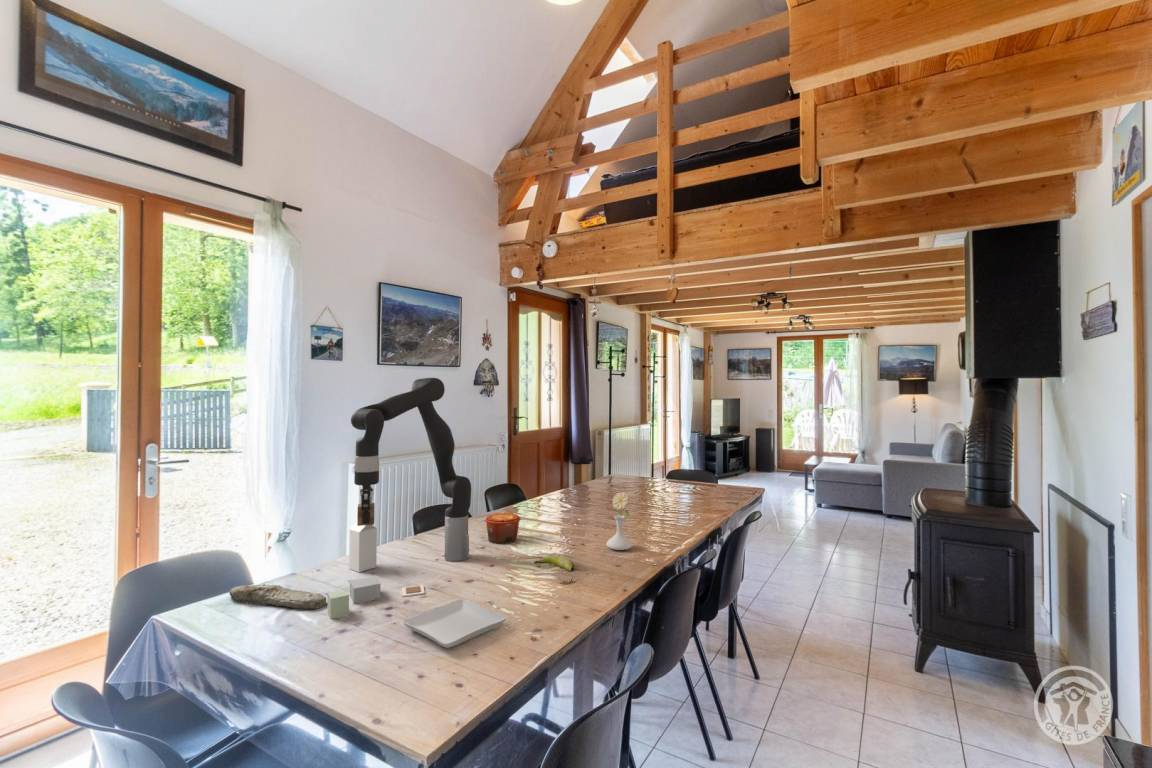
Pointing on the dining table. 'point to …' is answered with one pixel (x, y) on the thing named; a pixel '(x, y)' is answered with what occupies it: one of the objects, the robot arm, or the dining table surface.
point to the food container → (502, 527)
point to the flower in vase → (620, 524)
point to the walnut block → (372, 513)
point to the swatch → (413, 591)
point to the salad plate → (455, 622)
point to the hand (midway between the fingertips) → (366, 520)
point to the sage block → (338, 604)
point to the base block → (364, 589)
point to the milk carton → (362, 547)
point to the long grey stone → (277, 596)
